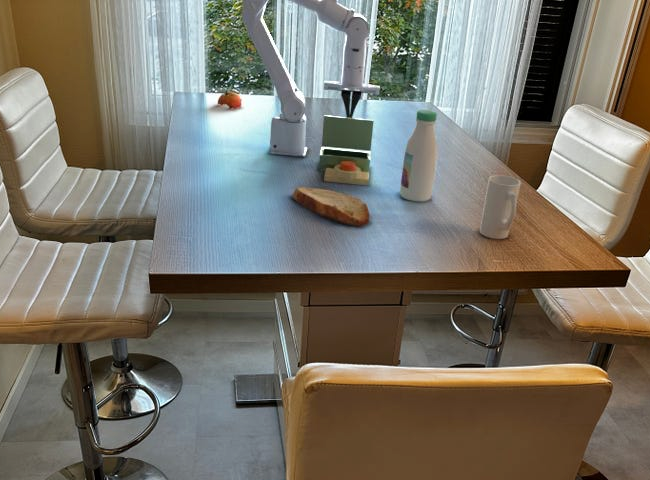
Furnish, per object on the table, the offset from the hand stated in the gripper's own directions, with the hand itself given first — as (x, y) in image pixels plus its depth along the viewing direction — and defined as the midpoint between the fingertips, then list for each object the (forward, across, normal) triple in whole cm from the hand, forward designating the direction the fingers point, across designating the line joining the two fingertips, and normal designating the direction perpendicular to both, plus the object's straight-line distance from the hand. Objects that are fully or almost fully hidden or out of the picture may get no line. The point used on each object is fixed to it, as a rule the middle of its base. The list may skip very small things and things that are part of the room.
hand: (349, 120), depth 188 cm
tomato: (+10, -40, +43) cm, 60 cm away
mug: (+10, +35, -49) cm, 61 cm away
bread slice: (+10, -2, -43) cm, 44 cm away
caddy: (+10, 0, -12) cm, 15 cm away
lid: (+2, 0, -8) cm, 8 cm away
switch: (+7, +1, -21) cm, 22 cm away
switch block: (+10, +1, -20) cm, 22 cm away
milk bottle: (+10, +18, -28) cm, 35 cm away
